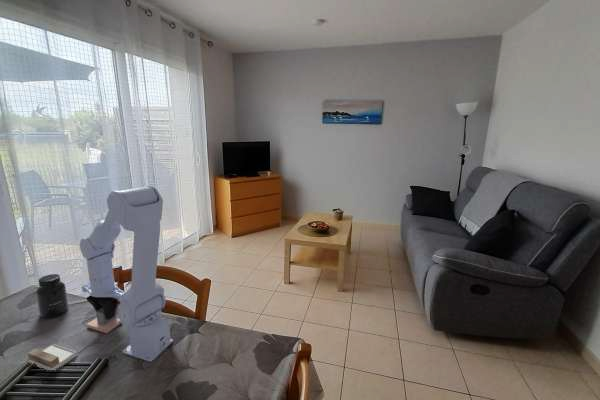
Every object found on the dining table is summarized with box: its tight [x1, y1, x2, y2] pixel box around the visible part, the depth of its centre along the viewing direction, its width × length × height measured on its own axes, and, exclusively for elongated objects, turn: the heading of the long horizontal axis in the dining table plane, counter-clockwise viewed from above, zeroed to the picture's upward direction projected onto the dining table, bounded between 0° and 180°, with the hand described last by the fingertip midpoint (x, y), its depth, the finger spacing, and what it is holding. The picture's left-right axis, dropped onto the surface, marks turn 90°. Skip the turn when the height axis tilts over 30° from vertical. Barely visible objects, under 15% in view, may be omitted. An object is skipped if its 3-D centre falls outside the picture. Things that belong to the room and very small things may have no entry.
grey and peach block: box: [86, 307, 123, 334], centre depth 81 cm, size 8×5×5 cm
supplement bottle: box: [35, 273, 69, 319], centre depth 85 cm, size 7×7×12 cm
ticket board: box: [27, 343, 77, 370], centre depth 69 cm, size 8×6×3 cm
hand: (106, 316), depth 82 cm, fingers closed on grey and peach block, 2 cm apart
